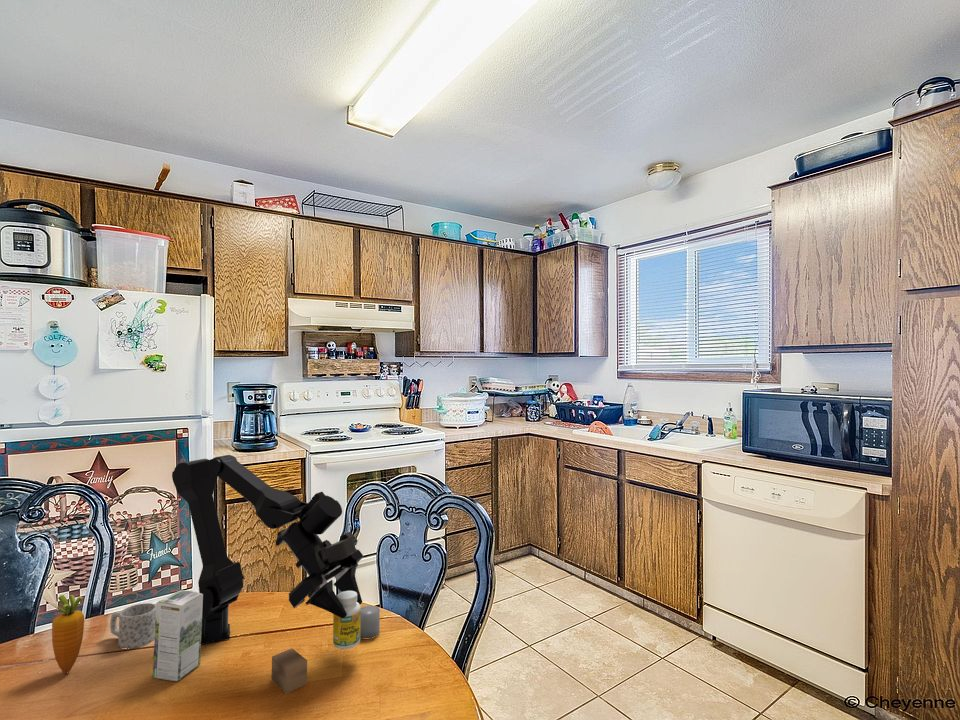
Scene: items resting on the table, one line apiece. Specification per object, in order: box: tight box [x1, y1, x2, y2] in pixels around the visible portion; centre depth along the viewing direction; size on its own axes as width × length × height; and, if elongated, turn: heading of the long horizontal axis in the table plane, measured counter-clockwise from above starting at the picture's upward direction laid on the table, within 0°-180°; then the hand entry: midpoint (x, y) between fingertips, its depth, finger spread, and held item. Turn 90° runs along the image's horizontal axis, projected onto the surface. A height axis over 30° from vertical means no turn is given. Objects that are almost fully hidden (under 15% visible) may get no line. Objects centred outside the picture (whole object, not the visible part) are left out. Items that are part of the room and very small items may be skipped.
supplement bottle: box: [332, 591, 362, 650], centre depth 100 cm, size 5×5×10 cm
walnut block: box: [270, 647, 308, 695], centre depth 94 cm, size 6×4×4 cm, turn 48°
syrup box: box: [152, 589, 203, 682], centre depth 97 cm, size 6×6×14 cm
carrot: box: [51, 594, 85, 674], centre depth 96 cm, size 5×5×15 cm
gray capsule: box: [360, 605, 381, 639], centre depth 112 cm, size 5×5×5 cm
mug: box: [109, 602, 156, 650], centre depth 108 cm, size 10×7×7 cm, turn 80°
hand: (353, 610), depth 100 cm, fingers closed on supplement bottle, 5 cm apart
